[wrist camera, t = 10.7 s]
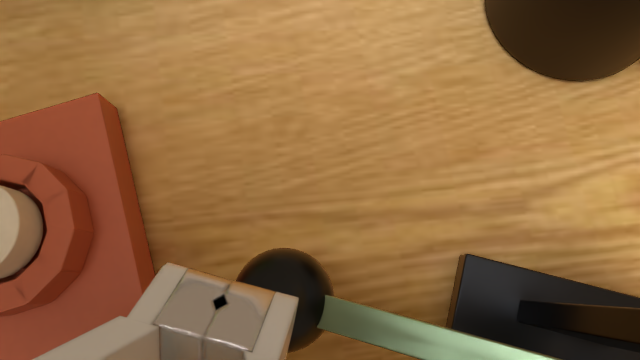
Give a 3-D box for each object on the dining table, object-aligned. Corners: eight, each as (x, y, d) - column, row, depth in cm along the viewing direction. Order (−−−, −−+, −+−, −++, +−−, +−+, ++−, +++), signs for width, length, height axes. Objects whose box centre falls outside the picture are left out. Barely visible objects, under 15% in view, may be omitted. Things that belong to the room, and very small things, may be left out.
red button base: (-65, 161, 26) (-135, 139, 22) (117, 108, 26) (79, 76, 22) (-33, 391, 23) (-107, 412, 19) (167, 327, 24) (135, 335, 20)
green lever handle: (248, 335, 19) (198, 336, 16) (273, 246, 20) (230, 230, 16) (766, 508, 13) (859, 568, 10) (774, 370, 14) (863, 382, 10)
